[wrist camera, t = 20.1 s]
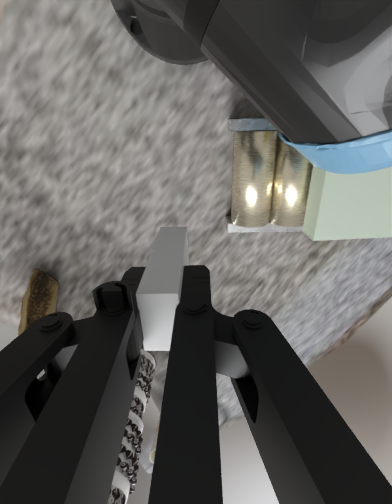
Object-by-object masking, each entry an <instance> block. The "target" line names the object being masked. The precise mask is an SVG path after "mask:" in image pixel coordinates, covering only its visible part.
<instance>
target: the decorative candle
mask: <svg viewBox="0 0 392 504" xmlns="http://www.w3.org/2000/svg"><path fill="white" fill-rule="evenodd" d="M141 357H142V362H141V366H140V371H139V375H138V379H137V383H136V387H135V391H134V395H133V399H132V403H131V407H130V411H129V416H128V420H127V424H126V428H125V432H124V436H123V440H122V444H121V448H120V452H119V457H118V461H117V465H116V469H115V473H114V477H113V481H112V485H111V489H110V493H109V498H108V502H107V504H126V503H127V499H128V497H129V494H131V493H133V492H134V490H135V487H134V486H135V484H136V482H137V480H136V475H137V474H136V473H137V472H138V469H139V467H138V465H137V462H138V460H139V454H140V453H141V449H140V448H141V446H140V444H141V443H142V441H143V439H142V438H141V436H142V431H143V427H144V425H143V423H142V417H143V413H144V411H145V407H146V404H147V403H148V399H149V398H150V390H151V384H152V381H153V375H154V372H155V370H154V368H155V360H154V357H153V356H152V355H151V354H150V353H149V352H148V351H144V349H142V348H141ZM137 439H138V441H137ZM135 452H136V453H135ZM132 467H134V471H133V470H132V469H131V468H132ZM130 483H131V484H130Z"/></svg>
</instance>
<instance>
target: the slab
mask: <svg viewBox="0 0 392 504" xmlns="http://www.w3.org/2000/svg"><path fill="white" fill-rule="evenodd" d="M302 231H303V232H304V233H305V234H306V235H307V236H308V237H310V238H311V239H312V240H313V241H320V240H341V239H362V238H384V237H392V167H389V168H385V169H381V170H377V171H372V172H367V173H360V174H336V173H331V172H328V171H326V170H323V169H319V168H317V167H315V166H314V165H313V169H312V175H311V182H310V188H309V194H308V200H307V206H306V212H305V218H304V224H303V230H302Z"/></svg>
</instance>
